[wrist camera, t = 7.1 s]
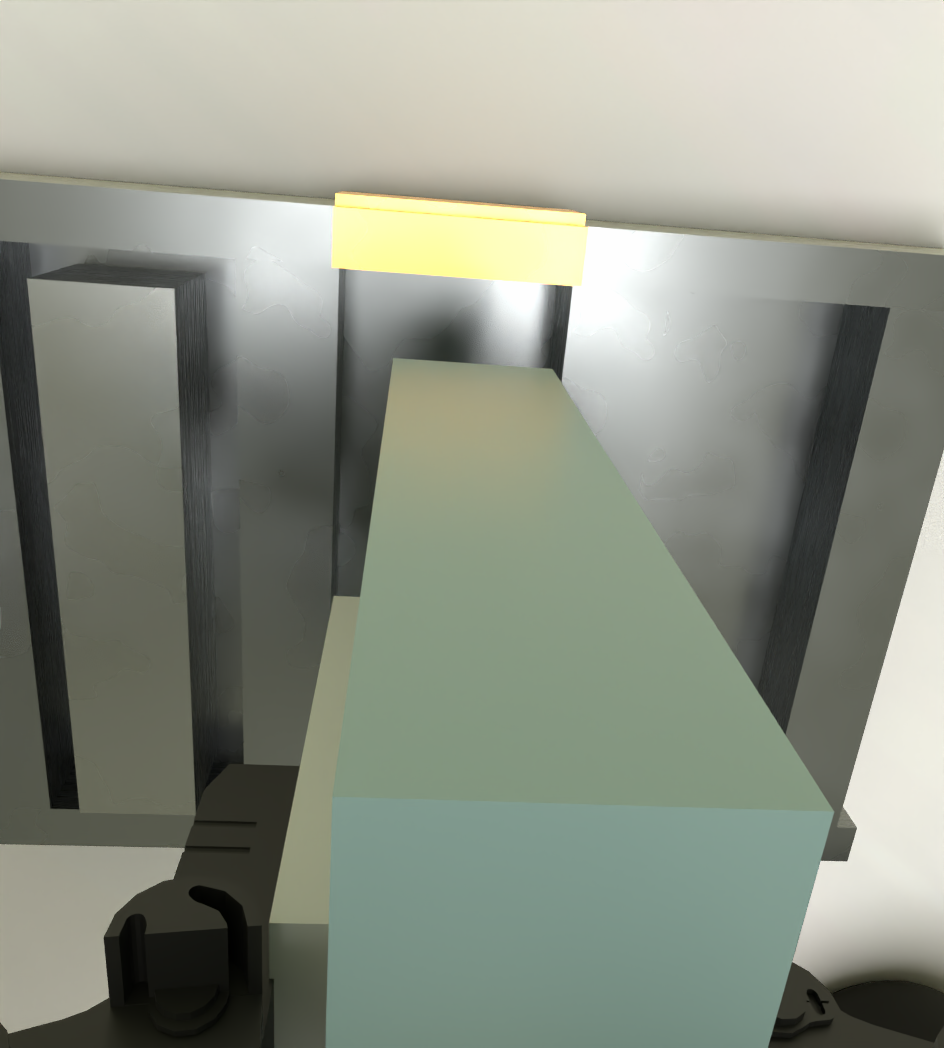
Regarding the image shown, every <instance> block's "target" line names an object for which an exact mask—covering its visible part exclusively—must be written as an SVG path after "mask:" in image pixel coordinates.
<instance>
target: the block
mask: <svg viewBox="0 0 944 1048" xmlns="http://www.w3.org/2000/svg"><path fill="white" fill-rule="evenodd" d="M833 815H834V811H833V809H832V807H831V806H830V804H829V803H828V801H827V800H826V798H825V796H824V795H823V793H822V792H821V790H820V789H819V787H818V785H817V784H816V782H815V781H814V779H813V778H812V776H811V774H810V773H809V771H808V770H807V768H806V767H805V765H804V763H803V762H802V760H801V759H800V757H799V756H798V754H797V752H796V751H795V749H794V748H793V746H792V745H791V743H790V741H789V740H788V738H787V737H786V735H785V734H784V732H783V730H782V729H781V727H780V726H779V724H778V723H777V721H776V719H775V718H774V716H773V715H772V713H771V712H770V710H769V708H768V707H767V705H766V704H765V702H764V701H763V699H762V697H761V696H760V694H759V693H758V691H757V690H756V688H755V686H754V685H753V683H752V682H751V680H750V679H749V677H748V675H747V674H746V672H745V671H744V669H743V668H742V666H741V664H740V663H739V661H738V660H737V658H736V657H735V655H734V653H733V652H732V650H731V649H730V647H729V646H728V644H727V642H726V641H725V639H724V638H723V636H722V635H721V633H720V631H719V630H718V628H717V627H716V625H715V624H714V622H713V620H712V619H711V617H710V616H709V614H708V613H707V611H706V609H705V608H704V606H703V605H702V603H701V602H700V600H699V598H698V597H697V595H696V594H695V592H694V591H693V589H692V587H691V586H690V584H689V583H688V581H687V580H686V578H685V576H684V575H683V573H682V572H681V570H680V569H679V567H678V565H677V564H676V562H675V561H674V559H673V558H672V556H671V554H670V553H669V551H668V550H667V548H666V547H665V545H664V543H663V542H662V540H661V539H660V537H659V536H658V534H657V532H656V531H655V529H654V528H653V526H652V525H651V523H650V521H649V520H648V518H647V517H646V515H645V514H644V512H643V510H642V509H641V507H640V506H639V504H638V503H637V501H636V499H635V498H634V496H633V495H632V493H631V492H630V490H629V488H628V487H627V485H626V484H625V482H624V481H623V479H622V477H621V476H620V474H619V473H618V471H617V470H616V468H615V466H614V465H613V463H612V462H611V460H610V459H609V457H608V455H607V454H606V452H605V451H604V449H603V448H602V446H601V444H600V443H599V441H598V440H597V438H596V437H595V435H594V433H593V432H592V430H591V429H590V427H589V426H588V424H587V422H586V421H585V419H584V418H583V416H582V415H581V413H580V411H579V410H578V408H577V407H576V405H575V404H574V402H573V400H572V399H571V397H570V396H569V394H568V393H567V391H566V389H565V388H564V386H563V385H562V383H561V382H560V380H559V378H558V377H557V375H556V374H555V372H554V371H553V369H546V368H531V367H517V366H502V365H487V364H473V363H458V362H444V361H429V360H414V359H400V358H393V364H392V371H391V378H390V386H389V393H388V400H387V407H386V414H385V422H384V429H383V436H382V443H381V450H380V457H379V465H378V472H377V479H376V486H375V493H374V500H373V508H372V515H371V522H370V529H369V536H368V544H367V551H366V558H365V565H364V572H363V579H362V587H361V594H360V601H359V608H358V615H357V622H356V630H355V637H354V644H353V651H352V658H351V666H350V673H349V680H348V687H347V694H346V701H345V709H344V716H343V723H342V730H341V737H340V745H339V752H338V759H337V766H336V773H335V780H334V788H333V795H332V824H331V860H330V897H329V934H328V971H327V1008H326V1045H325V1048H768V1045H769V1042H770V1038H771V1035H772V1031H773V1028H774V1024H775V1020H776V1017H777V1013H778V1010H779V1006H780V1003H781V999H782V996H783V992H784V989H785V985H786V981H787V978H788V974H789V971H790V967H791V964H792V960H793V957H794V953H795V949H796V946H797V942H798V939H799V935H800V932H801V928H802V925H803V921H804V918H805V914H806V910H807V907H808V903H809V900H810V896H811V893H812V889H813V886H814V882H815V878H816V875H817V871H818V868H819V864H820V861H821V857H822V854H823V850H824V847H825V843H826V839H827V836H828V832H829V829H830V825H831V822H832V818H833Z"/></svg>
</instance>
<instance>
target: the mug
mask: <svg viewBox="0 0 944 1048" xmlns="http://www.w3.org/2000/svg"><path fill="white" fill-rule="evenodd" d="M832 996H833V998H834V999H835V1001H836V1003H837V1005H838V1006H839V1008H840V1010H841V1011H843V1012H844V1013H846V1014H848V1015H850V1016H852V1017H854V1018H857V1019H859V1020H862V1021H865V1022H867V1023H870V1024H872V1025H876V1026H879V1027H882V1028H886V1029H889V1030H892V1031H896V1032H899V1033H903V1034H906V1035H909V1036H913V1037H916V1038H919V1039H923V1040H926V1041H930V1042H933V1043H935V1040H936V1038H937V1035H938V1034H939V1032H940V1031H941V1029H942V1028H943V1026H944V994H943V993H941V992H939V991H937V990H935V989H932V988H930V987H927V986H923V985H920V984H915V983H910V982H902V981H879V982H871V983H865V984H860V985H856V986H853V987H849V988H846V989H843V990H840V991H838V992H836V993H833V994H832Z"/></svg>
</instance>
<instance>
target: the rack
mask: <svg viewBox="0 0 944 1048" xmlns="http://www.w3.org/2000/svg"><path fill="white" fill-rule="evenodd" d="M585 218H586V214H584V213H580V212H577V211H574V210H567V209H555V208H543V207H531V206H518V205H506V204H494V203H482V202H470V201H458V200H446V199H433V198H421V197H409V196H397V195H385V194H373V193H360V192H348V191H341V192H338V193H336V194H335V199H327V198H315V197H303V196H290V195H278V194H266V193H253V192H241V191H229V190H217V189H204V188H192V187H180V186H167V185H155V184H143V183H131V182H118V181H106V180H94V179H82V178H69V177H57V176H45V175H32V174H20V173H8V172H0V844H26V845H75V846H124V847H174V848H185V844H186V841H187V839H188V836H189V833H190V830H191V827H192V826H193V824H194V818H195V815H196V812H197V809H198V807H199V804H200V801H201V798H202V795H203V792H204V789H205V788H206V787H207V786H208V785H209V784H210V783H211V782H212V781H213V780H214V779H215V778H216V777H217V776H218V775H219V774H220V773H221V772H222V771H223V770H224V769H225V768H226V767H227V766H228V765H229V764H254V765H285V766H300V764H301V759H302V754H303V749H304V744H305V739H306V734H307V729H308V724H309V719H310V713H311V708H312V703H313V698H314V693H315V688H316V683H317V678H318V673H319V668H320V663H321V658H322V653H323V648H324V643H325V638H326V633H327V628H328V623H329V618H330V613H331V608H332V603H333V598H334V596H347V597H360V594H361V587H362V579H363V572H364V565H365V558H366V551H367V544H368V536H369V529H370V522H371V515H372V508H373V500H374V493H375V486H376V479H377V472H378V465H379V457H380V450H381V443H382V436H383V429H384V422H385V414H386V407H387V400H388V393H389V386H390V378H391V371H392V364H393V358H400V359H414V360H429V361H444V362H458V363H473V364H487V365H502V366H517V367H531V368H546V369H553V371H554V372H555V374H556V375H557V377H558V378H559V380H560V382H561V383H562V385H563V386H564V388H565V389H566V391H567V393H568V394H569V396H570V397H571V399H572V400H573V402H574V404H575V405H576V407H577V408H578V410H579V411H580V413H581V415H582V416H583V418H584V419H585V421H586V422H587V424H588V426H589V427H590V429H591V430H592V432H593V433H594V435H595V437H596V438H597V440H598V441H599V443H600V444H601V446H602V448H603V449H604V451H605V452H606V454H607V455H608V457H609V459H610V460H611V462H612V463H613V465H614V466H615V468H616V470H617V471H618V473H619V474H620V476H621V477H622V479H623V481H624V482H625V484H626V485H627V487H628V488H629V490H630V492H631V493H632V495H633V496H634V498H635V499H636V501H637V503H638V504H639V506H640V507H641V509H642V510H643V512H644V514H645V515H646V517H647V518H648V520H649V521H650V523H651V525H652V526H653V528H654V529H655V531H656V532H657V534H658V536H659V537H660V539H661V540H662V542H663V543H664V545H665V547H666V548H667V550H668V551H669V553H670V554H671V556H672V558H673V559H674V561H675V562H676V564H677V565H678V567H679V569H680V570H681V572H682V573H683V575H684V576H685V578H686V580H687V581H688V583H689V584H690V586H691V587H692V589H693V591H694V592H695V594H696V595H697V597H698V598H699V600H700V602H701V603H702V605H703V606H704V608H705V609H706V611H707V613H708V614H709V616H710V617H711V619H712V620H713V622H714V624H715V625H716V627H717V628H718V630H719V631H720V633H721V635H722V636H723V638H724V639H725V641H726V642H727V644H728V646H729V647H730V649H731V650H732V652H733V653H734V655H735V657H736V658H737V660H738V661H739V663H740V664H741V666H742V668H743V669H744V671H745V672H746V674H747V675H748V677H749V679H750V680H751V682H752V683H753V685H754V686H755V688H756V690H757V691H758V693H759V694H760V696H761V697H762V699H763V701H764V702H765V704H766V705H767V707H768V708H769V710H770V712H771V713H772V715H773V716H774V718H775V719H776V721H777V723H778V724H779V726H780V727H781V729H782V730H783V732H784V734H785V735H786V737H787V738H788V740H789V741H790V743H791V745H792V746H793V748H794V749H795V751H796V752H797V754H798V756H799V757H800V759H801V760H802V762H803V763H804V765H805V767H806V768H807V770H808V771H809V773H810V774H811V776H812V778H813V779H814V781H815V782H816V784H817V785H818V787H819V789H820V790H821V792H822V793H823V795H824V796H825V798H826V800H827V801H828V803H829V804H830V806H831V807H832V809H833V811H834V815H833V818H832V822H831V825H830V829H829V832H828V836H827V839H826V843H825V847H824V850H823V854H822V857H821V861H847V860H848V857H849V853H850V850H851V846H852V843H853V840H854V836H855V833H856V829H857V827H856V826H855V824H854V823H853V821H852V820H851V818H850V817H849V815H848V814H847V812H846V811H845V809H844V808H843V803H844V800H845V796H846V793H847V789H848V786H849V782H850V779H851V775H852V772H853V768H854V765H855V761H856V758H857V754H858V750H859V747H860V743H861V740H862V736H863V733H864V729H865V726H866V722H867V719H868V715H869V712H870V708H871V705H872V701H873V697H874V694H875V690H876V687H877V683H878V680H879V676H880V673H881V669H882V666H883V662H884V659H885V655H886V652H887V648H888V644H889V641H890V637H891V634H892V630H893V627H894V623H895V620H896V616H897V613H898V609H899V606H900V602H901V598H902V595H903V591H904V588H905V584H906V581H907V577H908V574H909V570H910V567H911V563H912V560H913V556H914V553H915V549H916V545H917V542H918V538H919V535H920V531H921V528H922V524H923V521H924V517H925V514H926V510H927V507H928V503H929V500H930V496H931V492H932V489H933V485H934V482H935V478H936V475H937V471H938V468H939V464H940V461H941V457H942V454H943V450H944V249H941V248H929V247H916V246H904V245H892V244H880V243H867V242H855V241H843V240H830V239H818V238H806V237H794V236H781V235H769V234H757V233H745V232H732V231H720V230H708V229H695V228H683V227H671V226H659V225H646V224H634V223H622V222H609V221H597V220H585Z"/></svg>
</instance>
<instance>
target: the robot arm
mask: <svg viewBox="0 0 944 1048" xmlns="http://www.w3.org/2000/svg"><path fill="white" fill-rule="evenodd" d="M359 601H360V597H347V596H334V598H333V603H332V608H331V613H330V618H329V623H328V628H327V633H326V638H325V643H324V648H323V653H322V658H321V663H320V668H319V673H318V678H317V683H316V688H315V693H314V698H313V703H312V708H311V713H310V719H309V724H308V729H307V734H306V739H305V744H304V749H303V754H302V759H301V764H300V766H285V765H254V764H229V765H228V766H227V767H226V768H225V769H224V770H223V771H222V772H221V773H220V774H219V775H218V776H217V777H216V778H215V779H214V780H213V781H212V782H211V783H210V784H209V785H208V786H207V787H206V788H205V789H204V792H203V795H202V798H201V801H200V804H199V807H198V809H197V812H196V815H195V818H194V824H193V826H192V827H191V830H190V833H189V836H188V839H187V841H186V844H185V851H184V852H183V853H182V856H181V859H180V862H179V865H178V868H177V871H176V874H175V876H174V879H173V880H168V881H163V882H161V883H159V884H157V885H155V886H153V887H151V888H149V889H147V890H145V891H143V892H141V893H139V894H137V895H136V896H134V897H133V898H132V899H131V900H130V901H129V902H128V903H127V904H126V905H125V906H124V907H123V908H121V909H120V910H119V911H118V912H117V913H116V914H115V916H114V918H113V920H112V922H111V924H110V926H109V928H108V930H107V932H106V934H105V936H104V945H105V956H106V967H107V977H108V988H109V998H108V999H107V1000H105V1001H103V1002H101V1003H99V1004H98V1005H96V1006H94V1007H92V1008H91V1009H89V1010H87V1011H85V1012H82V1013H79V1014H76V1015H73V1016H71V1017H68V1018H65V1019H62V1020H59V1021H55V1022H51V1023H48V1024H44V1025H40V1026H36V1027H33V1028H29V1029H25V1030H21V1031H18V1032H14V1033H10V1034H8V1033H7V1030H6V1029H5V1028H4V1027H3V1025H2V1024H1V1023H0V1048H325V1045H326V1008H327V971H328V934H329V897H330V860H331V824H332V795H333V788H334V780H335V773H336V766H337V759H338V752H339V745H340V737H341V730H342V723H343V716H344V709H345V701H346V694H347V687H348V680H349V673H350V666H351V658H352V651H353V644H354V637H355V630H356V622H357V615H358V608H359ZM768 1048H944V1026H943V1028H942V1029H941V1031H940V1032H939V1034H938V1035H937V1038H936V1040H935V1043H933V1042H930V1041H926V1040H923V1039H919V1038H916V1037H913V1036H909V1035H906V1034H903V1033H899V1032H896V1031H892V1030H889V1029H886V1028H882V1027H879V1026H876V1025H872V1024H870V1023H867V1022H865V1021H862V1020H859V1019H857V1018H854V1017H852V1016H850V1015H848V1014H846V1013H844V1012H843V1011H841V1010H840V1008H839V1006H838V1005H837V1003H836V1001H835V999H834V998H833V996H832V994H831V993H830V991H829V990H828V989H827V988H826V987H825V986H824V985H823V984H821V983H820V982H819V981H818V980H817V979H816V978H815V977H814V976H813V975H812V974H811V973H810V972H809V971H807V970H805V969H803V968H802V967H800V966H798V965H796V964H794V963H793V962H792V964H791V967H790V971H789V974H788V978H787V981H786V985H785V989H784V992H783V996H782V999H781V1003H780V1006H779V1010H778V1013H777V1017H776V1020H775V1024H774V1028H773V1031H772V1035H771V1038H770V1042H769V1045H768Z"/></svg>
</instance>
